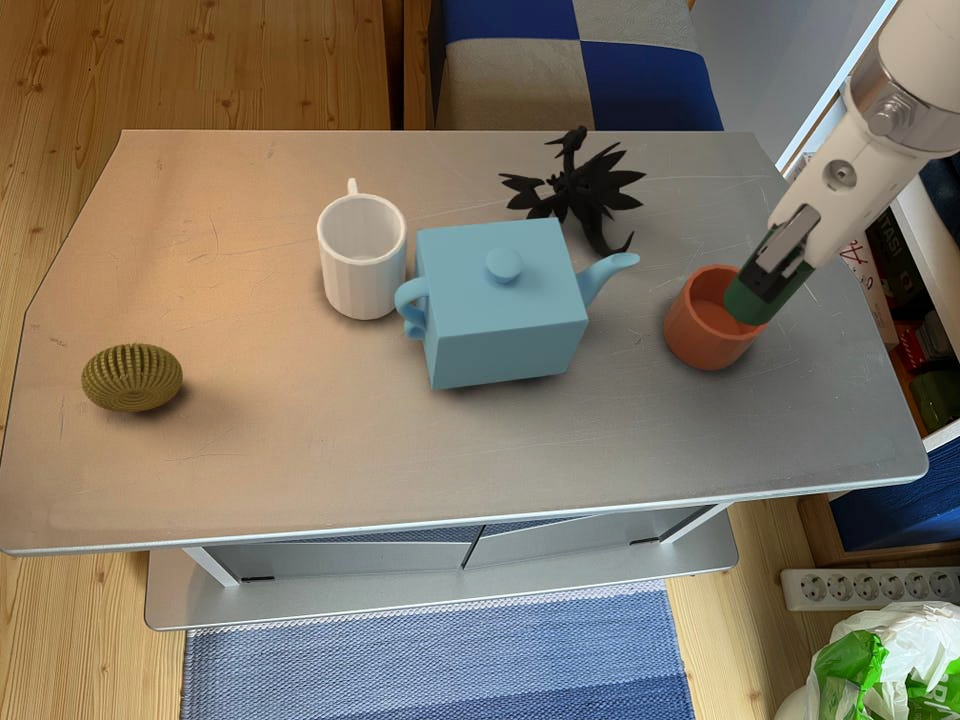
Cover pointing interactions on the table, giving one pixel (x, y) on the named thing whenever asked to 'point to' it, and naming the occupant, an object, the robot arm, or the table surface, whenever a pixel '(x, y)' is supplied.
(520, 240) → the teapot
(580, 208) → the figurine
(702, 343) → the cup
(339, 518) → the table surface
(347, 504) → the table surface
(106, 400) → the sculpture
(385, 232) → the mug
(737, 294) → the bottle
